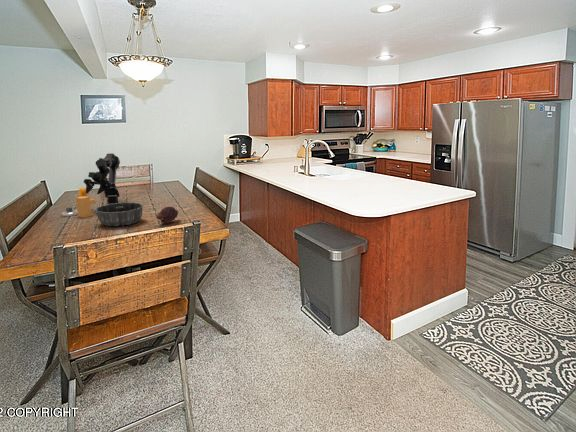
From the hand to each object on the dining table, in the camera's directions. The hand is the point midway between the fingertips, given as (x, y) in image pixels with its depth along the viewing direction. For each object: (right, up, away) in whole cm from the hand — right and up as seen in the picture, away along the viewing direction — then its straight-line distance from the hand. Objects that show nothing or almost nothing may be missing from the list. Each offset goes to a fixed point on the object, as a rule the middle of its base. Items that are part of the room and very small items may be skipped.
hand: (91, 193), depth 248 cm
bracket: (-22, -5, +36) cm, 42 cm away
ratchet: (-13, -12, +6) cm, 19 cm away
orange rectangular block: (-2, -15, -4) cm, 16 cm away
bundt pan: (+28, -19, -20) cm, 40 cm away
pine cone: (+58, -19, -21) cm, 64 cm away
